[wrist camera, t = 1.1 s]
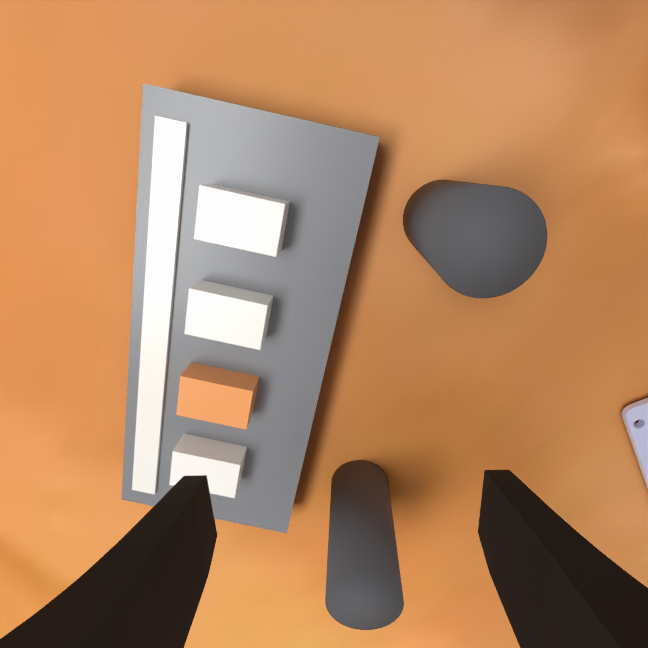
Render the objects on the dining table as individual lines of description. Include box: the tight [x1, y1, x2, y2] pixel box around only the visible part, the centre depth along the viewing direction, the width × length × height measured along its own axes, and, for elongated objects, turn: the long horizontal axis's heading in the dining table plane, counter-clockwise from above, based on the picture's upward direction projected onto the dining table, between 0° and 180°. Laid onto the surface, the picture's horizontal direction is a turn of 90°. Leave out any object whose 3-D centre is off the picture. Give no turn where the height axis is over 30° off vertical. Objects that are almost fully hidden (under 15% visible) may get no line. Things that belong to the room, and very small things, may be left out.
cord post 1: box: [325, 460, 404, 630], centre depth 21 cm, size 3×3×7 cm
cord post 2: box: [403, 180, 547, 298], centre depth 15 cm, size 3×3×7 cm
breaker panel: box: [122, 83, 380, 533], centre depth 20 cm, size 20×9×3 cm, turn 168°
